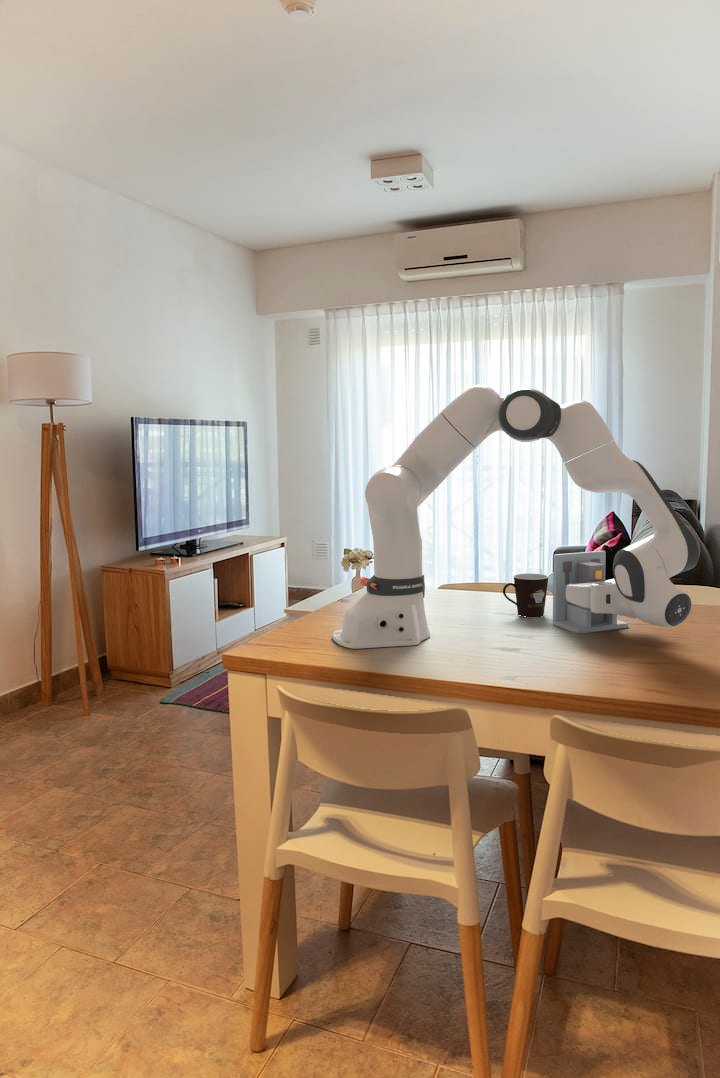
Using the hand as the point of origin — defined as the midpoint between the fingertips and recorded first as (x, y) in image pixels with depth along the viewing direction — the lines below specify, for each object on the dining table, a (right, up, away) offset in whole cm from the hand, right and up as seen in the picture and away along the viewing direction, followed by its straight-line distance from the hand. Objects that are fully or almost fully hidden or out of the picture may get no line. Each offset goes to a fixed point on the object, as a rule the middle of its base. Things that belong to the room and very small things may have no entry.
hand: (588, 585), depth 177 cm
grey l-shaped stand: (0, -10, 0) cm, 10 cm away
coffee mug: (-12, -9, +13) cm, 20 cm away
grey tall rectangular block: (0, -9, 0) cm, 9 cm away
